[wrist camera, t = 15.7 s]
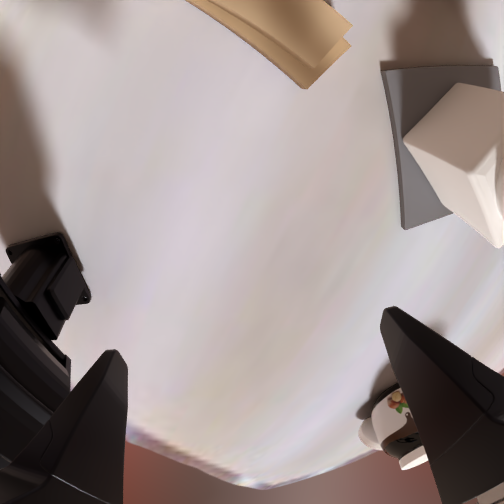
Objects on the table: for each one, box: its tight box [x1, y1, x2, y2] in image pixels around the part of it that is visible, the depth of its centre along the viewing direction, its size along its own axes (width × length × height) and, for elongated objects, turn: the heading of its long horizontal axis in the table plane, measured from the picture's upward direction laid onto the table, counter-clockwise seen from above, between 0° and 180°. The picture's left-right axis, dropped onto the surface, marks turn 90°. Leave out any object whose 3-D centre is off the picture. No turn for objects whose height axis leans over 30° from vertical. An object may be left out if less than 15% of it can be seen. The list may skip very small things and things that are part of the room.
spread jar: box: [358, 383, 428, 470], centre depth 33 cm, size 12×11×12 cm
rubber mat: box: [381, 65, 501, 230], centre depth 18 cm, size 12×12×1 cm
